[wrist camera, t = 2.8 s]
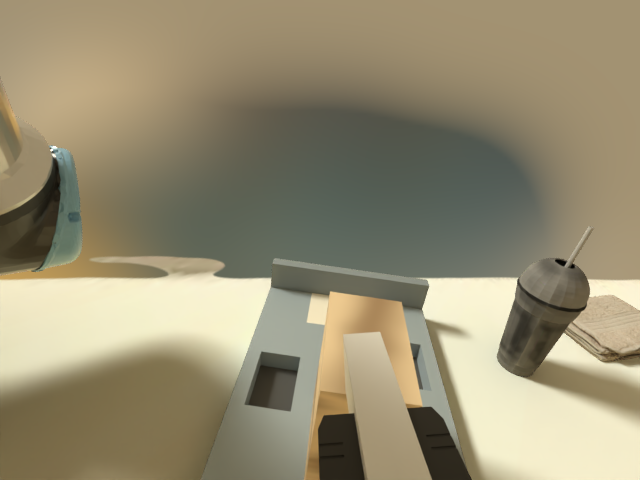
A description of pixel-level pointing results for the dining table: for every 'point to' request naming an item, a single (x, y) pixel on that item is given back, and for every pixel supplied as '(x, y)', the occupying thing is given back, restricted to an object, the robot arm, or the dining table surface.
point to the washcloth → (607, 329)
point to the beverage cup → (542, 311)
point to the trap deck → (306, 369)
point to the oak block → (330, 383)
